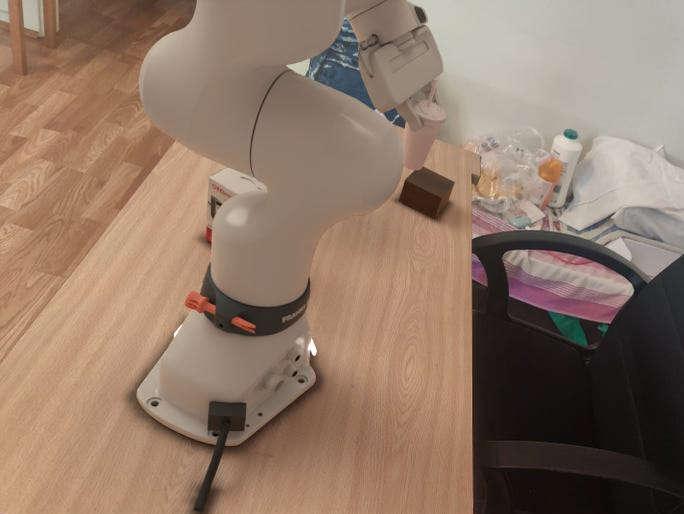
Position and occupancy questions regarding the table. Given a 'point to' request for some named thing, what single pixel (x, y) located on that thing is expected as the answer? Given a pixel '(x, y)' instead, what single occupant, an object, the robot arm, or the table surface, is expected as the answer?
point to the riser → (426, 191)
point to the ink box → (226, 191)
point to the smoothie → (422, 131)
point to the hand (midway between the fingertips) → (427, 121)
